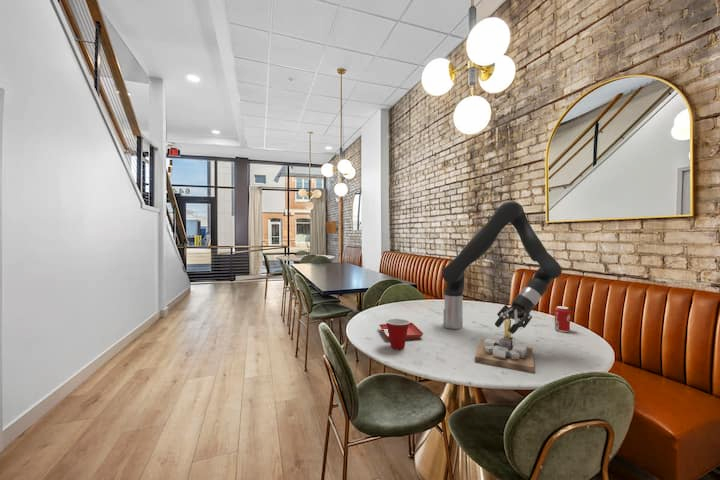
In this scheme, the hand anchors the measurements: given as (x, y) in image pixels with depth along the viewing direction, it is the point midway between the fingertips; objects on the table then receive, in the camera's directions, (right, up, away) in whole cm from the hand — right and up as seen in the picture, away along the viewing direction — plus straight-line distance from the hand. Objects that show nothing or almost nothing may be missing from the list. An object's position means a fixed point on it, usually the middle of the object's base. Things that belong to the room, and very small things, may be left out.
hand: (503, 329), depth 125 cm
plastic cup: (-43, -10, +7) cm, 45 cm away
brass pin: (+2, -8, 0) cm, 8 cm away
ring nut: (-1, -8, -4) cm, 9 cm away
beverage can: (+43, -9, +26) cm, 51 cm away
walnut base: (-2, -10, -4) cm, 11 cm away
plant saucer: (-40, -10, +24) cm, 47 cm away
